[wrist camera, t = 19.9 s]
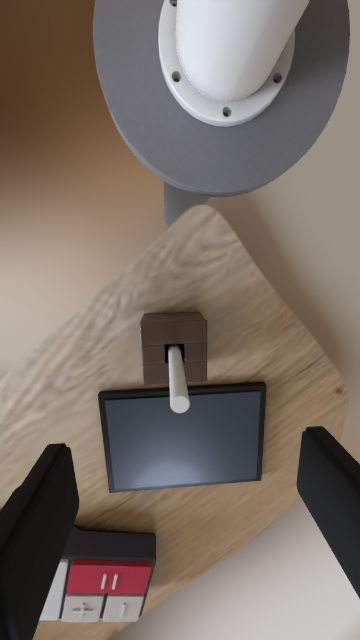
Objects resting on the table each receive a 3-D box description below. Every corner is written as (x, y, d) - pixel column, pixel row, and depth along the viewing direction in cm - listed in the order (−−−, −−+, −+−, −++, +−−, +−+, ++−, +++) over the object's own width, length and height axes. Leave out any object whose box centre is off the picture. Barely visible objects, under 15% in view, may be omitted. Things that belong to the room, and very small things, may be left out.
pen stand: (143, 313, 26) (139, 323, 22) (199, 311, 26) (206, 320, 22) (147, 366, 27) (143, 385, 23) (200, 363, 28) (207, 381, 23)
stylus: (167, 336, 27) (168, 397, 14) (177, 334, 27) (188, 394, 14) (168, 346, 27) (172, 415, 14) (179, 344, 27) (191, 411, 14)
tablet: (99, 391, 28) (97, 395, 27) (264, 381, 29) (267, 385, 28) (110, 487, 31) (109, 494, 30) (259, 475, 32) (261, 482, 31)
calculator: (140, 626, 32) (21, 628, 29) (141, 584, 36) (37, 583, 33) (156, 566, 29) (29, 563, 27) (156, 528, 34) (46, 523, 31)
